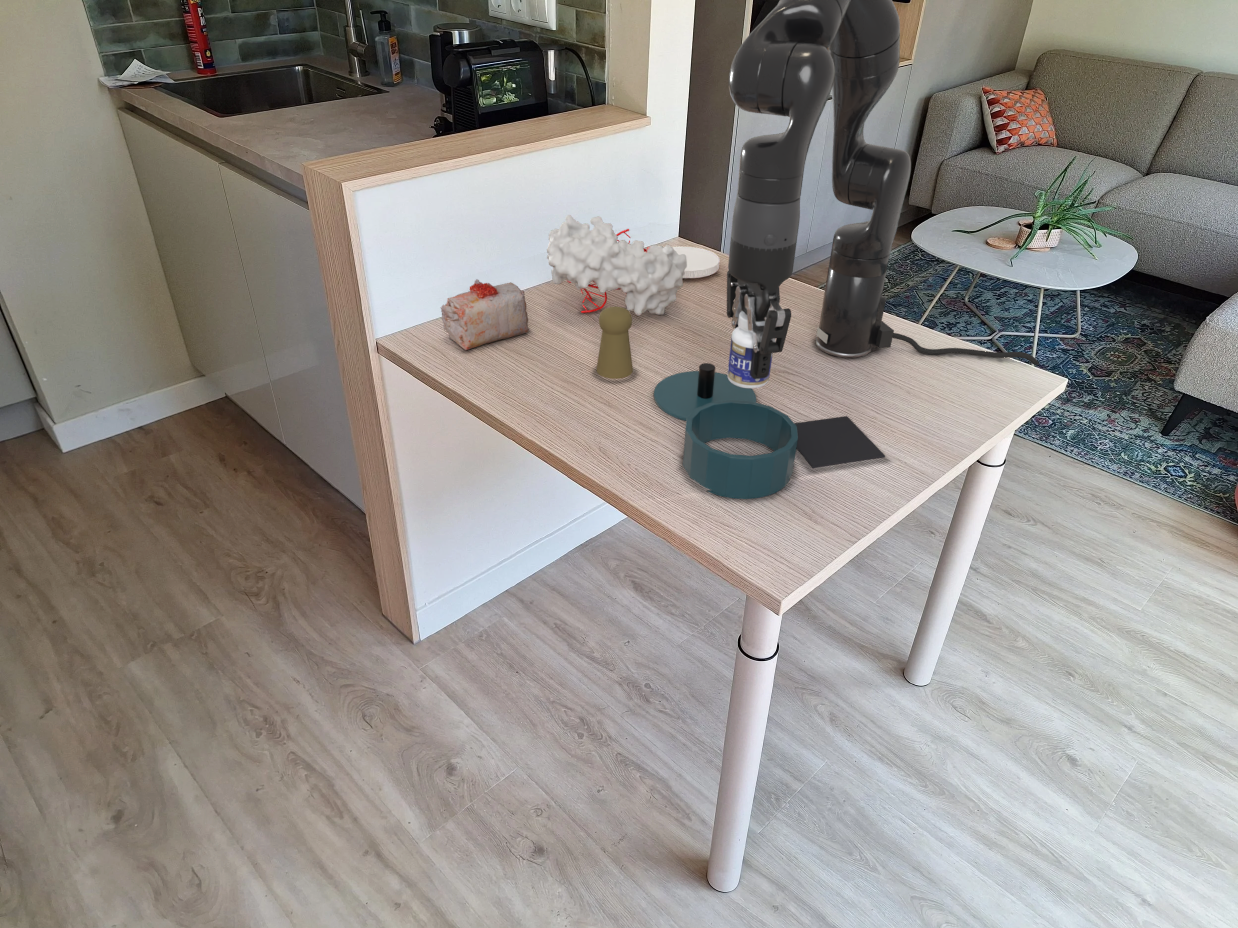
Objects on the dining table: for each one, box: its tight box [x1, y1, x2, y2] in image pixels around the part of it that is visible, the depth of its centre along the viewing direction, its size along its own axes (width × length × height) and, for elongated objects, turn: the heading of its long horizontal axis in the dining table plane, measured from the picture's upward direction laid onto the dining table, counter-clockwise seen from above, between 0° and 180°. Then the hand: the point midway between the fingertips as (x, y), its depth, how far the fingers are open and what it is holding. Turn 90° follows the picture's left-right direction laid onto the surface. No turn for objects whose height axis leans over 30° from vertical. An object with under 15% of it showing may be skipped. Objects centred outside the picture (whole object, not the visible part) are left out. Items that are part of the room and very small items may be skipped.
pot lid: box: [653, 362, 757, 422], centre depth 128 cm, size 16×16×6 cm
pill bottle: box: [726, 311, 774, 390], centre depth 105 cm, size 5×5×9 cm
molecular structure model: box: [546, 214, 687, 316], centre depth 152 cm, size 20×18×25 cm
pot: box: [682, 400, 798, 500], centre depth 113 cm, size 15×15×6 cm
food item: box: [439, 278, 530, 351], centre depth 144 cm, size 14×8×10 cm, turn 125°
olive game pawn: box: [596, 305, 634, 380], centre depth 133 cm, size 6×6×11 cm
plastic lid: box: [672, 245, 721, 279], centre depth 173 cm, size 14×14×2 cm
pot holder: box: [793, 415, 886, 469], centre depth 119 cm, size 11×11×1 cm
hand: (749, 365), depth 106 cm, fingers closed on pill bottle, 5 cm apart
